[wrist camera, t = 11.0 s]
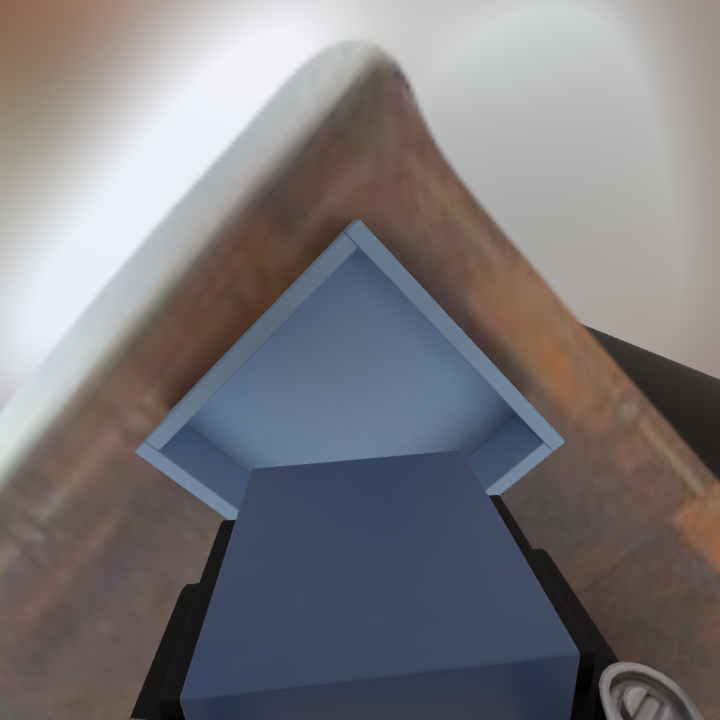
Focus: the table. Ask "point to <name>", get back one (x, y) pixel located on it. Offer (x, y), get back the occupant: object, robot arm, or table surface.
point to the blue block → (377, 603)
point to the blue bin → (347, 386)
